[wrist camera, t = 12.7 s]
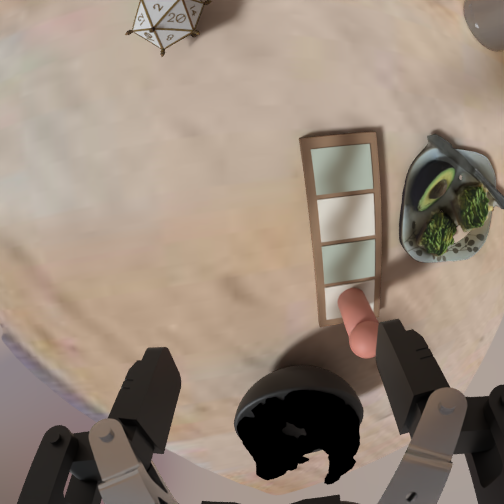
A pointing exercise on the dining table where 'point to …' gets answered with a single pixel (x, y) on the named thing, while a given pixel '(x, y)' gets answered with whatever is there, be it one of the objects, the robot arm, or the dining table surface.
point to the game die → (167, 21)
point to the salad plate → (447, 203)
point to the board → (344, 218)
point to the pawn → (359, 322)
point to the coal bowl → (300, 421)
